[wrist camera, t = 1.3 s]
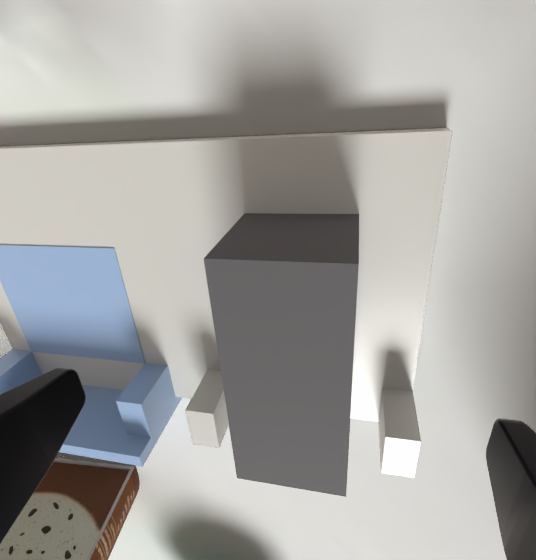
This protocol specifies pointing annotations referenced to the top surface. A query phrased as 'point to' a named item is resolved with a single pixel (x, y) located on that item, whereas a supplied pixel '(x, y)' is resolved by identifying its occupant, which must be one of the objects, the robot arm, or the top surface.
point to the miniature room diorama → (191, 271)
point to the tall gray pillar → (287, 344)
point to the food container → (73, 512)
